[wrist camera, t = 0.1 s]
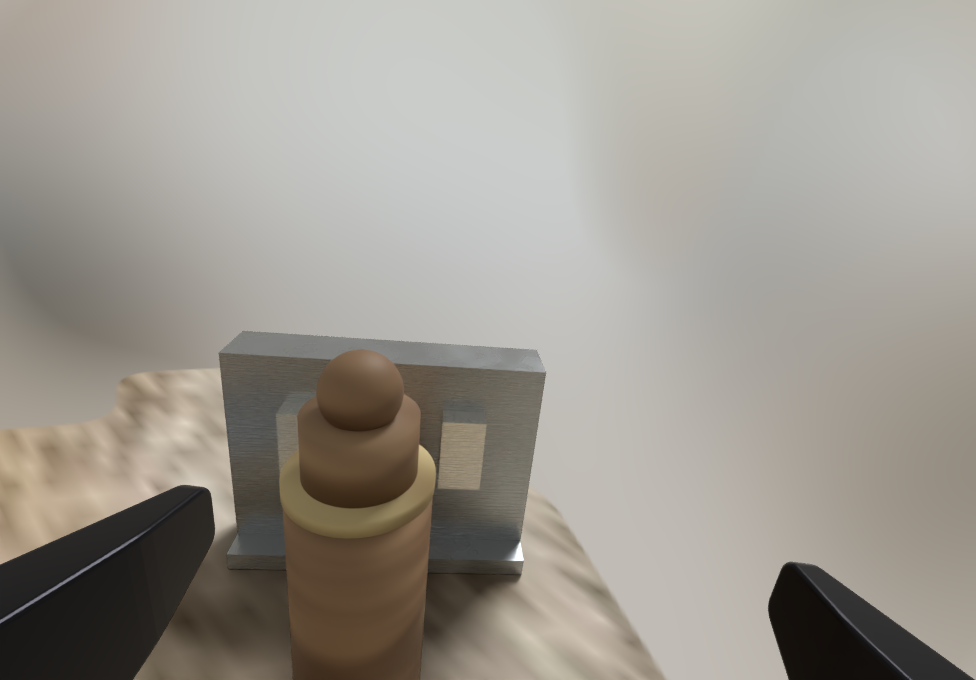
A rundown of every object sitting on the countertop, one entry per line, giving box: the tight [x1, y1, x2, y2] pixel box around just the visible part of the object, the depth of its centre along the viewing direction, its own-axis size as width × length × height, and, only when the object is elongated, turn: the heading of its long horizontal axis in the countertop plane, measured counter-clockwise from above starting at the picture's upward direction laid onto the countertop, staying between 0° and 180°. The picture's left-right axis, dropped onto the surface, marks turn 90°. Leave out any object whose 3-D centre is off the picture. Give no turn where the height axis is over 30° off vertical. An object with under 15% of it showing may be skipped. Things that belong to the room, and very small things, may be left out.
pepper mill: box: [279, 349, 436, 680], centre depth 19 cm, size 5×5×16 cm
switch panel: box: [219, 331, 546, 574], centre depth 28 cm, size 6×16×12 cm, turn 94°
